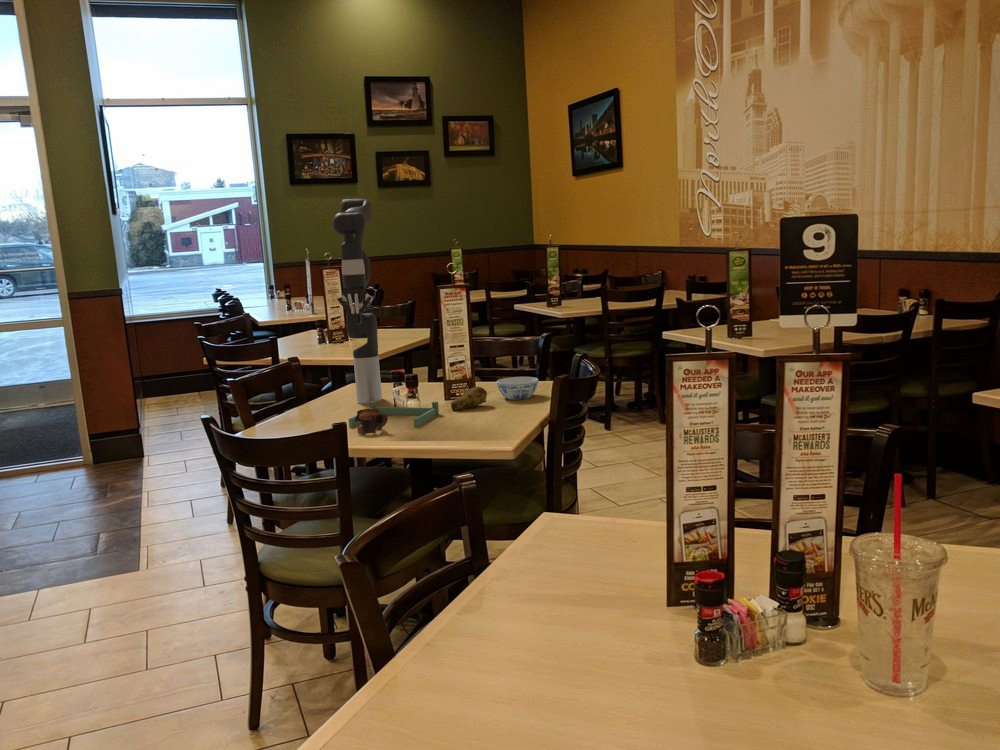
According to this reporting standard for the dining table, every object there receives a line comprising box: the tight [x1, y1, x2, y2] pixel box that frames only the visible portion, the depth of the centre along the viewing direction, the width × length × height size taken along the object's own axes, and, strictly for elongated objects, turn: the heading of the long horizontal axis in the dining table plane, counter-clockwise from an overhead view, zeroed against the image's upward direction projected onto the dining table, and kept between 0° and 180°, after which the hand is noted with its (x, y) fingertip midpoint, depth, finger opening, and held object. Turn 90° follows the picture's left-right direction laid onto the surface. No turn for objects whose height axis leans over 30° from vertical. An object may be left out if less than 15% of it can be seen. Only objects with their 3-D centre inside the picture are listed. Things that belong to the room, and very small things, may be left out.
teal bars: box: [348, 401, 440, 428], centre depth 277 cm, size 18×25×5 cm
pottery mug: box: [355, 408, 389, 435], centre depth 264 cm, size 12×9×8 cm
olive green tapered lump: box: [450, 386, 488, 412], centre depth 288 cm, size 8×13×8 cm, turn 98°
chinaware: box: [496, 376, 539, 401], centre depth 300 cm, size 15×15×8 cm
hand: (357, 324), depth 283 cm, fingers closed
